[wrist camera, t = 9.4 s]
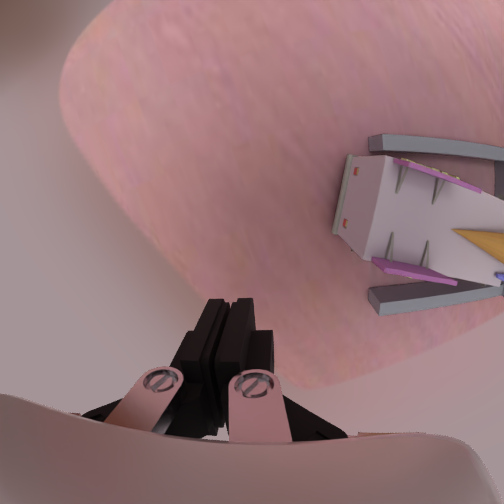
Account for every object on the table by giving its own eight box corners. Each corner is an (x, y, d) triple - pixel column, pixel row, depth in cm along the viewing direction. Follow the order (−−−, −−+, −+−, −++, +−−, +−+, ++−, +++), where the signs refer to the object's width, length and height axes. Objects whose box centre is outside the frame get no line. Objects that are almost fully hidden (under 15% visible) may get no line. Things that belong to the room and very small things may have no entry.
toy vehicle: (464, 265, 31) (540, 317, 16) (325, 234, 31) (371, 294, 16) (482, 194, 28) (570, 219, 14) (343, 147, 28) (408, 136, 14)
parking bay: (501, 150, 26) (531, 152, 20) (492, 282, 31) (517, 299, 25) (368, 137, 27) (390, 132, 22) (368, 299, 32) (385, 325, 27)
